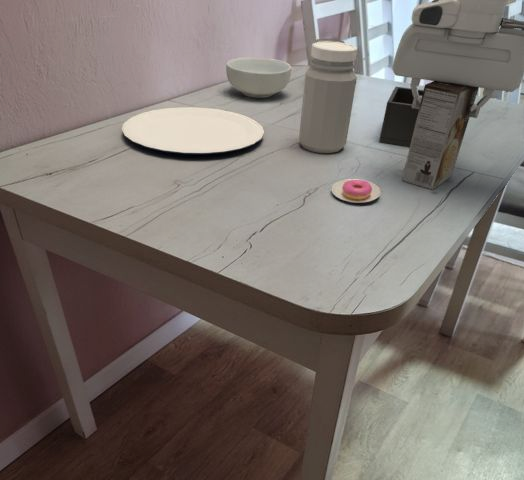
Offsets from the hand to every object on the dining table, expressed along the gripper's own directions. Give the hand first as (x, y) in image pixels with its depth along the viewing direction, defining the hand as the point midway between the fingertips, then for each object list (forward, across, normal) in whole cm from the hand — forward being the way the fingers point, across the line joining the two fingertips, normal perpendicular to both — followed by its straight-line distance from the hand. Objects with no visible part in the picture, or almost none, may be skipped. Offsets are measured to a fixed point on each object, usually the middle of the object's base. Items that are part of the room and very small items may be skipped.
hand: (443, 112), depth 83 cm
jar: (+12, +22, -8) cm, 26 cm away
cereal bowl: (+12, +47, -40) cm, 63 cm away
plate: (+12, +48, -2) cm, 49 cm away
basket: (+12, +4, -24) cm, 27 cm away
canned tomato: (+12, +33, -59) cm, 68 cm away
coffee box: (+12, 0, 0) cm, 12 cm away
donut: (+12, +11, +12) cm, 20 cm away
